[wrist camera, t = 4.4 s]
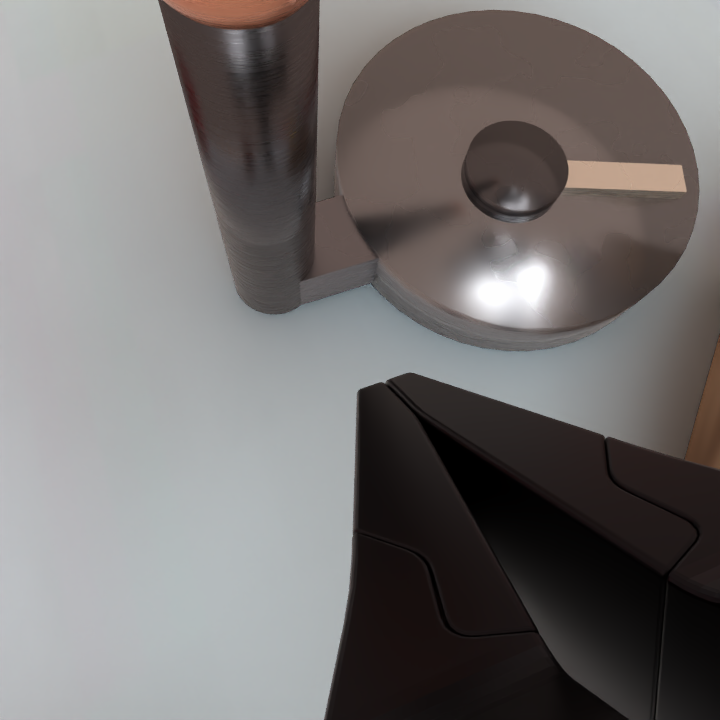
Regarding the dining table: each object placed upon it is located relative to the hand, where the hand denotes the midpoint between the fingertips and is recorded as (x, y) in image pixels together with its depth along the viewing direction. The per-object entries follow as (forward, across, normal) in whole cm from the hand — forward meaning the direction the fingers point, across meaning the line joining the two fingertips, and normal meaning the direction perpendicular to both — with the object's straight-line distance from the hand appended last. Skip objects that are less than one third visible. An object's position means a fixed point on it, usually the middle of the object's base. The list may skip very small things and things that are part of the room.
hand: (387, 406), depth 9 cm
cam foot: (+12, -8, +2) cm, 15 cm away
